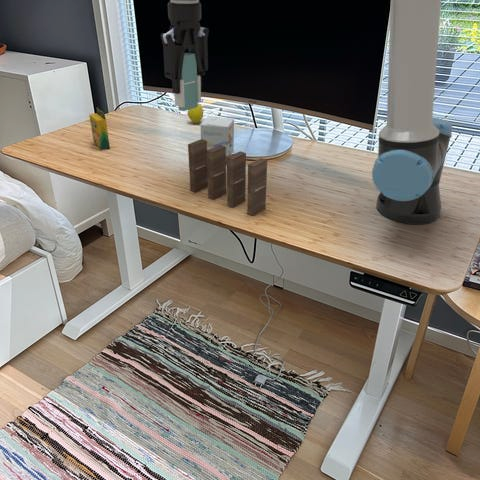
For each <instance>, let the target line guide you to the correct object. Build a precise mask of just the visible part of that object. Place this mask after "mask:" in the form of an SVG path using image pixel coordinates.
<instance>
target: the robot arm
mask: <svg viewBox="0 0 480 480" xmlns="http://www.w3.org/2000/svg"><path fill="white" fill-rule="evenodd" d="M441 5H442V0H390V11H389V41H388V70H387V71H388V73H387V74H388V75H387V77H388V78H387V101H386V102H387V104H386V105H387V108H386V124H385V126H383V127H382V128H381V129H380V130H379V131H378V148H377V149H378V152H377V153H378V154H377V158H376V159H375V161H374V163H373V167H372V169H371V177H372V181H373V184H374V186H375V188H376V189H377V190H378V192H379V194H378V195H377V198H376V205H375V206H376V210H377V211H378V212H379V213H380V214H381V215H382V216H384V217H385V218H387V219H390V220H392V221H396V222H399V223H402V224H411V225H424V224H423V223H426V224H430V223H432V222H431V221H433V222H434V220H435V221H437V220H438V219H439V217H440V214H441V210H442V201H441V194H440V193H441V192H440V182H441V177H442V173H443V169H444V164H445V161H446V157H447V153H448V149H449V144H450V140H451V138H452V137H453V135H452V132H453V125H452V123H451V122H450V121H448V120H445V119H442V118H439V117H433V114H434V113H433V112H434V100H435V87H436V86H435V85H436V76H437V75H436V74H437V73H436V72H437V62H438V61H437V59H438V46H439V35H440V34H439V33H440V32H439V31H440V22H441V20H440V19H441V10H442V9H441V7H442V6H441ZM167 16H168V20H169V21H170V27H169V31H167V32H166V33H164V32H161V34H160V39H161V42H162V47H163V49H162V50H163V65H164V66H163V67H164V68H163V69H164V77H165V78H166V79H170V80H171V86H172V88H171V89H172V93H173V94H174V106H176V107H178V106H179V107H182V108H183V107H185V98H184V80H182V79H181V75H182V67H183V60H184V54H185V53H186V52H185V51H187V50H188V52H187V53H194V54H195V57H196V62H197V99H198V104H200V103H202V98H201V97H202V92H201V91H202V87H203V77H202V76H205V75H206V72H207V71H209V70H208V69H209V50H208V37H209V32H210V29H209V28H207V27H203V26H201V24H200V21H201V19H202V3H201V2H200V0H169V1H168V3H167ZM179 107H178V108H179ZM437 218H438V219H437ZM429 222H430V223H429Z"/></svg>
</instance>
